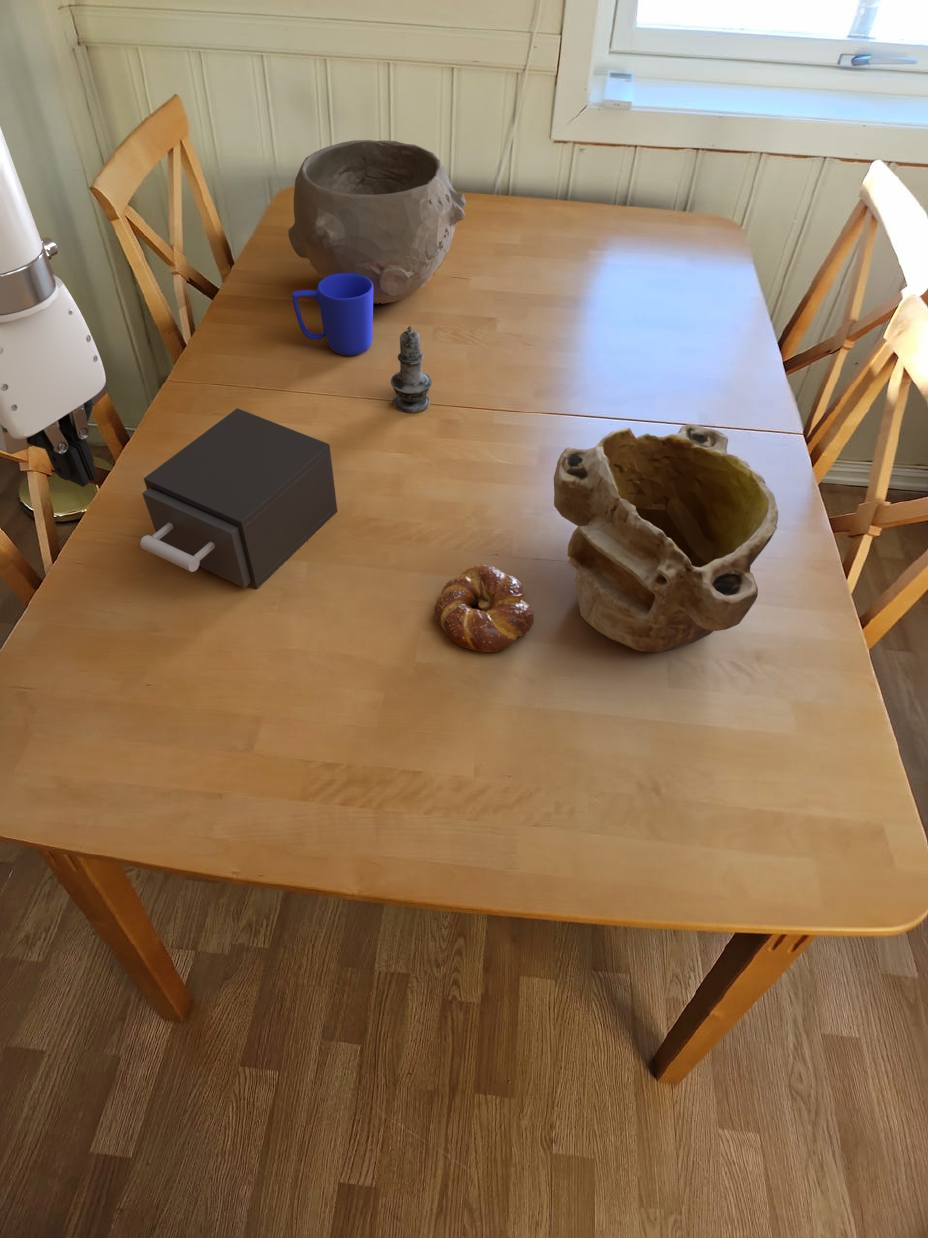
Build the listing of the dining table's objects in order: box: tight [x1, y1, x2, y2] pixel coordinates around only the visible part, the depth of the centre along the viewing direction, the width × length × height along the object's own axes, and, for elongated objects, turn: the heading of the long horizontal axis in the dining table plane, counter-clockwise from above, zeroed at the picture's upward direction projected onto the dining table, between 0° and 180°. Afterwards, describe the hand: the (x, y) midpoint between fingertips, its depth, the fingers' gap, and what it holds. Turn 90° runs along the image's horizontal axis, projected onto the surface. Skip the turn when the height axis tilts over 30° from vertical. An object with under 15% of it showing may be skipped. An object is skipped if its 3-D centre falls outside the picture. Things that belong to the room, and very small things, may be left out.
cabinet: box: [143, 407, 338, 590], centre depth 97 cm, size 16×14×10 cm
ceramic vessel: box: [553, 423, 779, 654], centre depth 85 cm, size 23×24×25 cm
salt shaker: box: [390, 325, 433, 414], centre depth 115 cm, size 6×6×12 cm
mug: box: [291, 273, 374, 356], centre depth 125 cm, size 8×12×10 cm
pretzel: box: [434, 564, 535, 653], centre depth 91 cm, size 12×11×4 cm
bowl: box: [287, 139, 467, 305], centre depth 134 cm, size 27×29×20 cm
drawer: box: [139, 488, 251, 588], centre depth 95 cm, size 19×13×8 cm, turn 150°
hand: (79, 476), depth 74 cm, fingers closed
